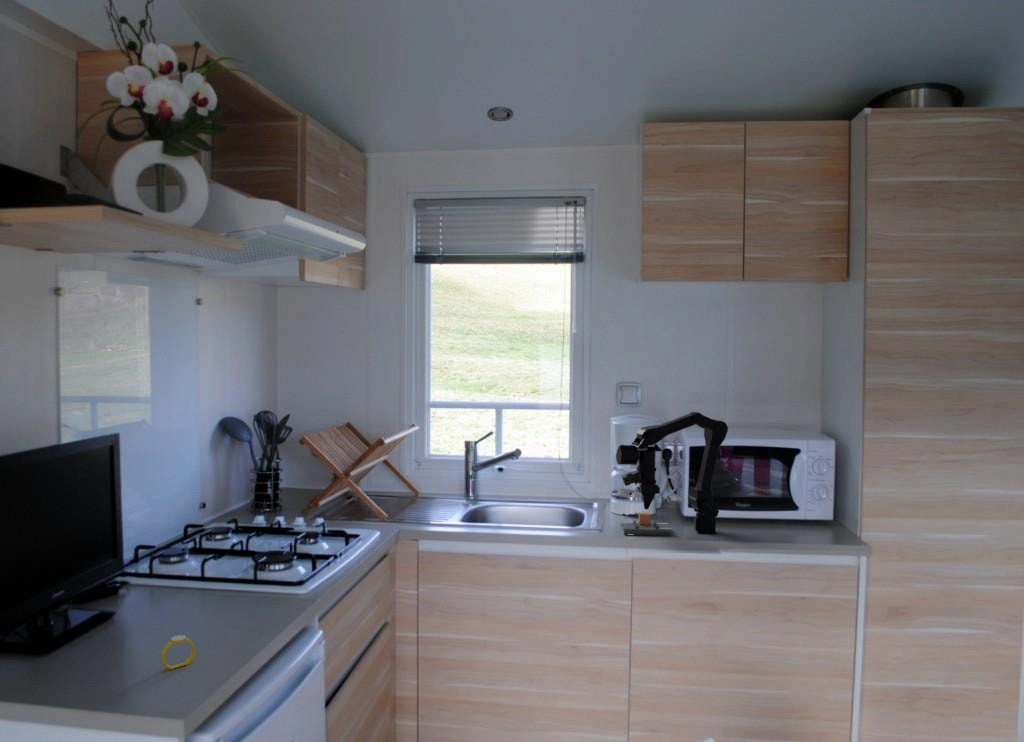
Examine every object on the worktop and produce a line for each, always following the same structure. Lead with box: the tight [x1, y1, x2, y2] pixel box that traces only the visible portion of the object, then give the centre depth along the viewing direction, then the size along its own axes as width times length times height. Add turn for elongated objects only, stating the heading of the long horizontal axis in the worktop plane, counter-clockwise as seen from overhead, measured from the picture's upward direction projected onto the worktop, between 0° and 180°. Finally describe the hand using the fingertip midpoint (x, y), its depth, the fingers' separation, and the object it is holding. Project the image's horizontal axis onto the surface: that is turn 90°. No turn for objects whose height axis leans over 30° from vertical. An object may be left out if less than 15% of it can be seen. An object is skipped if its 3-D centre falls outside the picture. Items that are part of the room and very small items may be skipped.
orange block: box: [638, 512, 652, 525], centre depth 245 cm, size 4×2×4 cm, turn 87°
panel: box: [620, 519, 673, 536], centre depth 242 cm, size 16×8×3 cm, turn 87°
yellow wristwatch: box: [160, 634, 196, 670], centre depth 138 cm, size 6×3×6 cm, turn 133°
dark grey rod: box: [623, 532, 671, 537], centre depth 237 cm, size 16×1×1 cm, turn 87°
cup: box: [617, 488, 635, 497], centre depth 269 cm, size 8×8×10 cm
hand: (646, 509), depth 239 cm, fingers closed
